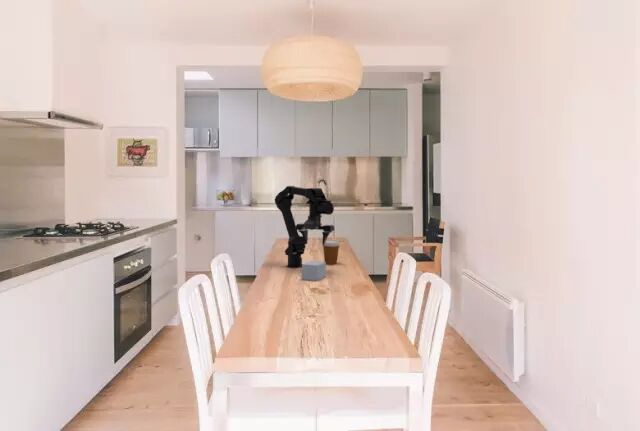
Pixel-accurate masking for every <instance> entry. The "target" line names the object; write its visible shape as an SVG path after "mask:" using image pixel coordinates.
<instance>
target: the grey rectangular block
mask: <svg viewBox="0 0 640 431" xmlns="http://www.w3.org/2000/svg"><path fill="white" fill-rule="evenodd" d="M326 267H327V264H326V262H325V261H315V260H309V261H307V262H304V263H302V266H301V280H304V281H312V282H314V281H315V282H318V281H320V280H322V279H324V278H327V277H326V276H327V268H326Z"/></svg>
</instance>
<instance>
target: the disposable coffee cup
mask: <svg viewBox="0 0 640 431" xmlns="http://www.w3.org/2000/svg"><path fill="white" fill-rule="evenodd" d="M340 245H341V243H340V241H339V240H326V242H325V244H324V246H323V244H322V248H323V257H324V262H326V265H328V266H329V265H337V262H338V256H339V249H340Z"/></svg>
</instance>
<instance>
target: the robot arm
mask: <svg viewBox="0 0 640 431" xmlns="http://www.w3.org/2000/svg"><path fill="white" fill-rule="evenodd" d="M295 196H303V197H305V199H307V200H308V201H306V205H309V210H308V212H309V213H308V214H309V215H308V216H307V219H306V220H305V221H304V222H303V223H297V224H296V223H295V222H296V221H295V219H294V216H293V212H292V205H293V203H292V201H293V199H294V198H295ZM274 203H275V205H276V208H277V210H279V211H280V213H282V217H283V221H284V224H285V225H284V226H285V229H286V231H287V235H288V241H287V245H288V246H287V247H286V249H285V250H284V254H285V256H287V265H286V267H287V268H301V267H302V264H303V257H302V255H304V254H305V250H306V245H307V244H308V237H309V236H308V235H309V233H308V232H309V230H310V231H313V230H320V231H322V240H321V241H322V242H321V243H322V244H323V245H322V247H323V246H324V244H325V242H326V241H327V240H328V237H329V235H330V234H331V233H332V232H333V231H335V226H334V225H333V224H325V225H323V224H322V216H323V215H329V216H330V215H332V214H333V213H334V212H335V211H334V210H335V206H334V205H333V203H332V200H331V199H330V200H328V199H327V197H326V196H325V194H324V191H323V189H322V188H320V187H311V188H310V187H309V188H305V187H299V186H294V185H287V186H286V187H284V189H282V190H281V191H280V192H278V193H277V195H276V196H275V197H274ZM299 233H300V234H301V235H302V236H301V235H299Z"/></svg>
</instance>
